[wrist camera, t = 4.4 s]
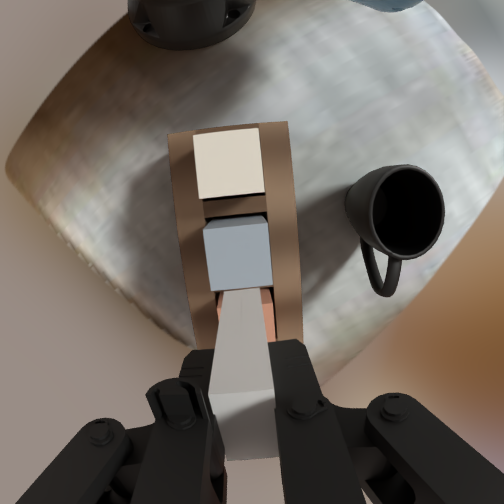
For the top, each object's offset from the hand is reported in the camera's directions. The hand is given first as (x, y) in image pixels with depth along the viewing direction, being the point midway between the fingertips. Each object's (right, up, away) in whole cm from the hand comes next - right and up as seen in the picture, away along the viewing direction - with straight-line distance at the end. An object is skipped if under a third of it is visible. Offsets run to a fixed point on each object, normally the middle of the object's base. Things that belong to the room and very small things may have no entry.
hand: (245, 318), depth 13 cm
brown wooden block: (-1, +5, +19) cm, 20 cm away
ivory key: (-1, +10, +13) cm, 17 cm away
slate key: (-1, +4, +15) cm, 15 cm away
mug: (+13, +6, +20) cm, 24 cm away
